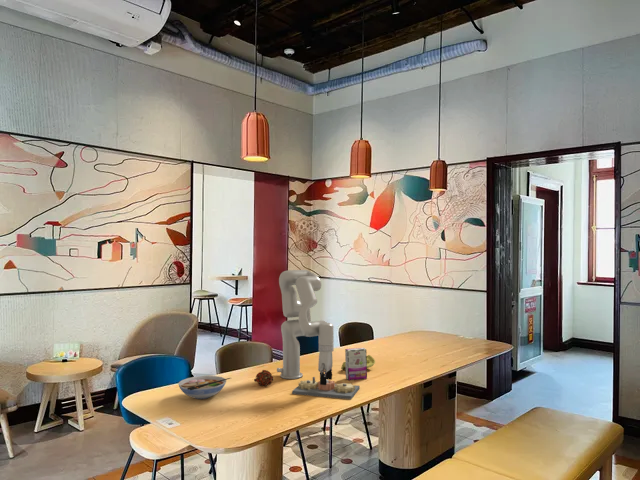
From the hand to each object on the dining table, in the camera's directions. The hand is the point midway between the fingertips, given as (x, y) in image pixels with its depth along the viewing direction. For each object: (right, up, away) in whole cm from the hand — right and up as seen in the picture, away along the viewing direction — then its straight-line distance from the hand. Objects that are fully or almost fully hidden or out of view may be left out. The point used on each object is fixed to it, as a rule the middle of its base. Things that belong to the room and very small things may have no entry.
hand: (326, 381), depth 232 cm
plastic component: (+20, -6, +42) cm, 47 cm away
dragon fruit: (-33, -5, +11) cm, 35 cm away
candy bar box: (+17, -5, +23) cm, 29 cm away
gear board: (0, -5, 0) cm, 5 cm away
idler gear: (0, -3, 0) cm, 3 cm away
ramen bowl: (-60, -5, -8) cm, 61 cm away
